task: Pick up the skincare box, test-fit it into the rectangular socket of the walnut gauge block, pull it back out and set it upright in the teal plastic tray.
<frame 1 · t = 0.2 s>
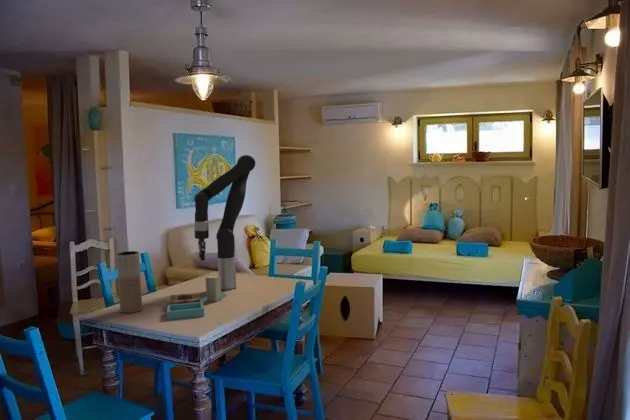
hand: (202, 259, 278), 17 cm above the table, tool pointing down, fingers open, 8 cm apart
skincare box: (214, 300, 258), on the table
tray: (185, 314, 234), on the table
vase: (131, 311, 243), on the table
gauge block: (185, 305, 249), on the table
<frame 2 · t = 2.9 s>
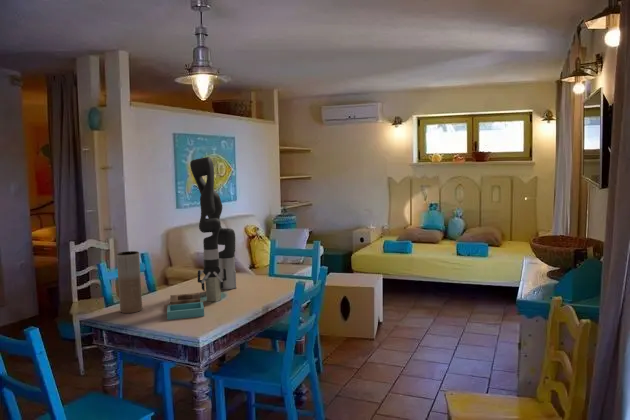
hand: (212, 289, 257), 5 cm above the table, tool pointing down, fingers open, 8 cm apart
nothing on the table moved.
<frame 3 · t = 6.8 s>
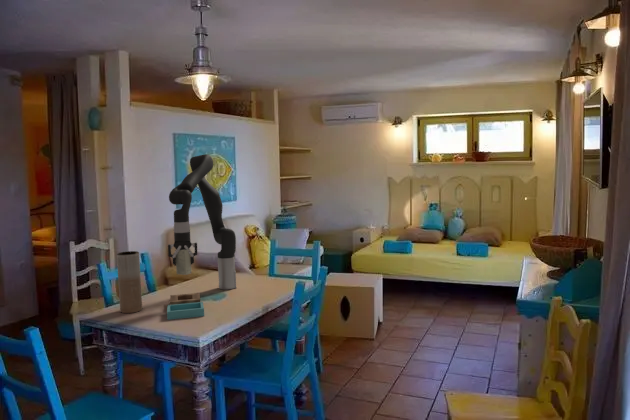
hand: (183, 264, 248), 20 cm above the table, tool pointing down, fingers closed on skincare box, 7 cm apart
skincare box: (183, 274, 248), point 15 cm above the table, touching gripper
everything else where it was.
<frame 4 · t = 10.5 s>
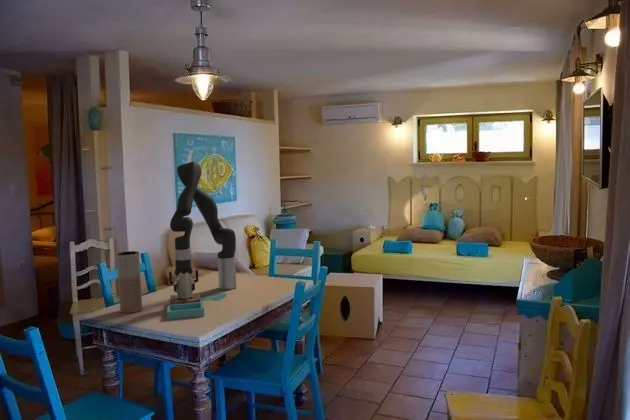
hand: (184, 291, 248), 7 cm above the table, tool pointing down, fingers closed on skincare box, 7 cm apart
skincare box: (184, 297, 249), point 4 cm above the table, touching gauge block, gripper
everything else where it was.
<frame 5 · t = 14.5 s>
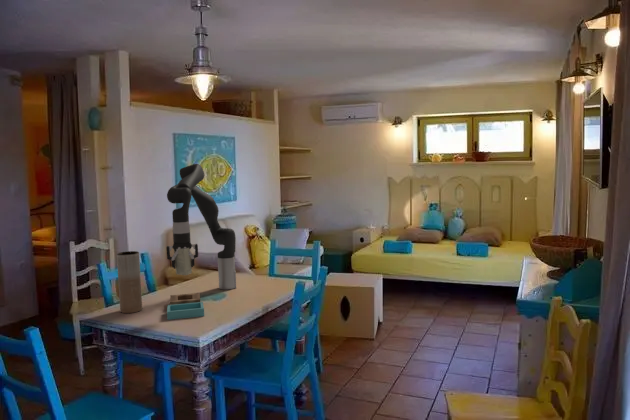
hand: (183, 267, 232), 22 cm above the table, tool pointing down, fingers closed on skincare box, 7 cm apart
skincare box: (183, 274, 233), point 18 cm above the table, touching gripper
everything else where it was.
when the fingers open (7 cm above the table, at t = 17.9 s): skincare box drops 3 cm, resting on tray.
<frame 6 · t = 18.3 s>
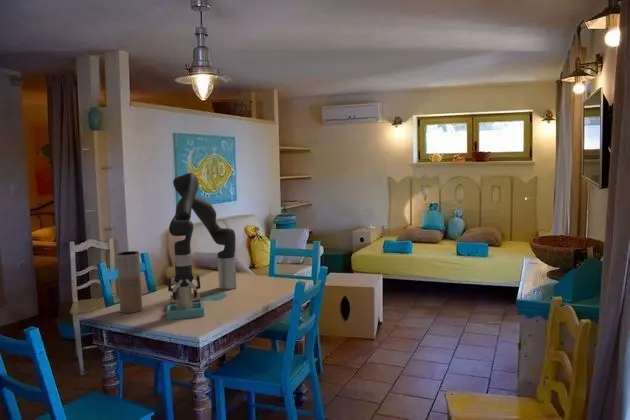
hand: (185, 299, 233), 7 cm above the table, tool pointing down, fingers open, 8 cm apart
skincare box: (184, 312, 234), point 1 cm above the table, touching gripper, tray
everything else where it was.
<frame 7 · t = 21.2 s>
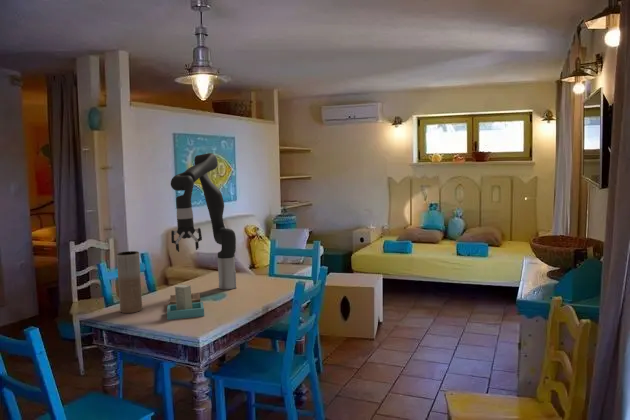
hand: (187, 250, 247), 27 cm above the table, tool pointing down, fingers open, 8 cm apart
skincare box: (184, 312, 234), point 1 cm above the table, touching tray
everything else where it was.
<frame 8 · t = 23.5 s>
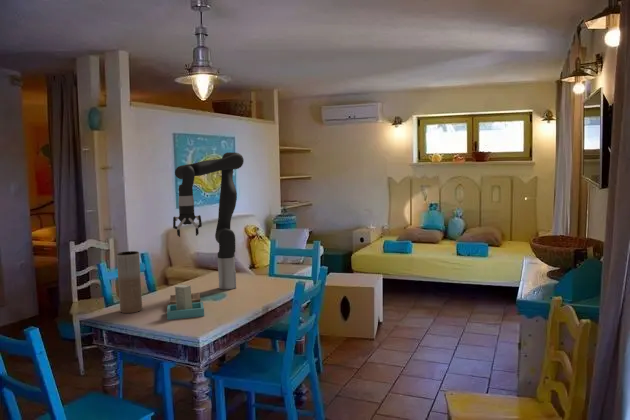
hand: (188, 236, 262), 32 cm above the table, tool pointing down, fingers open, 8 cm apart
nothing on the table moved.
at the end: skincare box inside the target area on the tray (0.9 cm from its centre), point 0.8 cm above the tray's base; skincare box tilted 0°; the gripper is holding nothing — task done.
